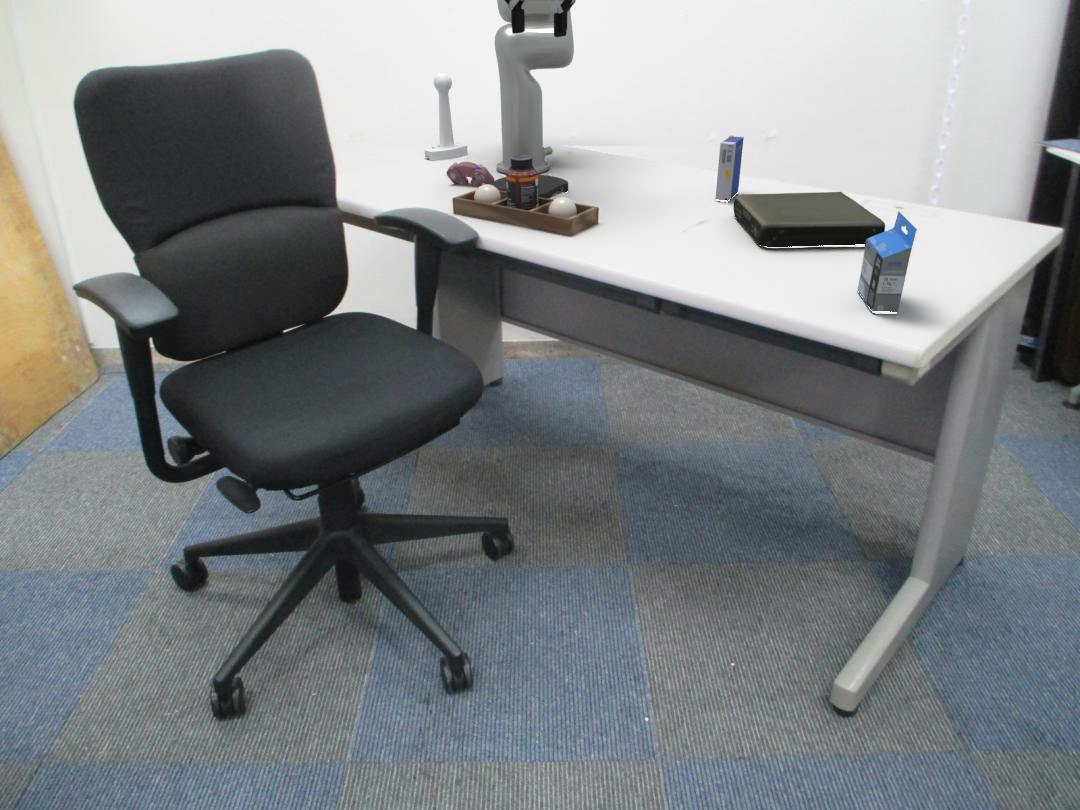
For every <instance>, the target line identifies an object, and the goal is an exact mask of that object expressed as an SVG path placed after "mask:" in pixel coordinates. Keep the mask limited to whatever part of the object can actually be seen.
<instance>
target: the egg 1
mask: <svg viewBox="0 0 1080 810" xmlns="http://www.w3.org/2000/svg"><path fill="white" fill-rule="evenodd" d="M475 190H476V192H475V194H474V201H479V202H485V203H490V204H491V203H494V202H497V201H499V200H501V195H500V192H499V190H498V189H497V188H496V187H495V186H493V185H490V184H481V185H480V186H478V188H476V189H475Z"/></svg>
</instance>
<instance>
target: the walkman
mask: <svg viewBox="0 0 1080 810" xmlns="http://www.w3.org/2000/svg"><path fill="white" fill-rule="evenodd" d="M719 144H720V145H719V155H718V156H719V157H718V167H717V168H718V169H717V176H716V177H717V178H716V186H715V187H716V190H715V199H719V200H727V201H728V200H729V199H730V198H732V197H733V196H734V195H735V194H736V193H737V192H738V193H739V185H740V179H741V178H740V176H741V169H742V167H741V166H742V157H743V147H744V136H734V135H729V136H728V138H725V139H724V140H723V141H722V142H720V143H719Z"/></svg>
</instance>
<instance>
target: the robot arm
mask: <svg viewBox="0 0 1080 810" xmlns="http://www.w3.org/2000/svg"><path fill="white" fill-rule="evenodd" d="M576 2H577V1H576V0H496V3H497V9H498V13H499V16H500V17H501V19H502V20H503V21H504V22H507V24H505V25H502V26H501V27H499V28H498V29H497V31H496V32H495V35H494V50H495V56H496V62H497V67H498V74H499V75H498V77H499V78H498V79H499V90H500V92H499V93H500V113H501V114H500V118H501V145H502V147H501V149H502V152H501V153H502V161H500V162H498V163H497V164H496V171H497V172H499V173H501V174H505V175H506V172H507V170H508V169H509V168H510V167H511V157H513V156H518V155H527V156H531V157H532V162H533V163H532V166H533V168H535V169H536V170H537V172H538V174H542V173H545V171H546V172H547V170H548V171H549V170H550V167H551V166H550V165H551V164H550V163H549V162H548V161H546V160H545V158H546V156H547V157H548V156H550V155H552V154H553V148H552V147H551V146H546V147H545V146H544V139H543V137H544V136H543V135H544V134H543V133H544V131H543V129H544V128H543V125H544V124H543V122H544V121H543V90H542V87H541V84H540V83H539V82H538V81H537V80H536V78H535V77H534V76H533V75H532V74H531V71H534V70H535V71H536V70H547V69H548V70H551V69H553V70H554V69H562V68H563V69H564V68H566V67H568V66H570V64H571V63H572V61H573V60H574V54H575V43H574V41H575V40H574V33H573V25H572V24H573V23H572V15H571V14H572V13H571V8H572V7H573V6H574V5H575V3H576Z"/></svg>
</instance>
